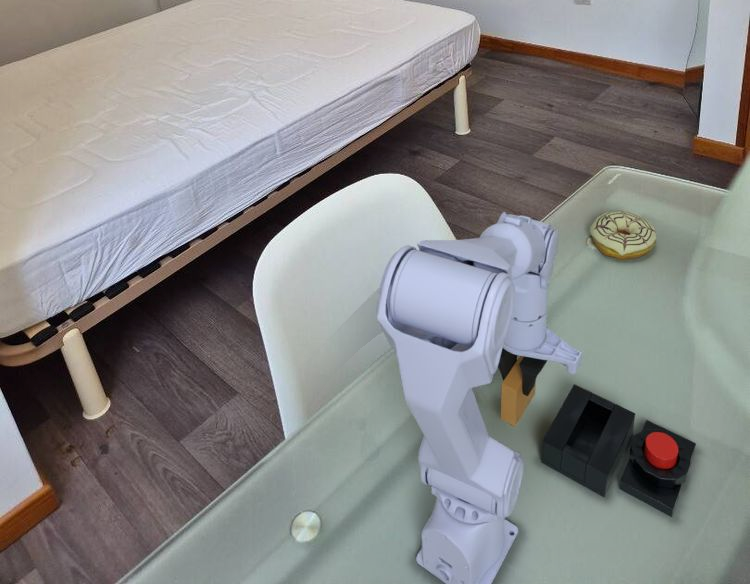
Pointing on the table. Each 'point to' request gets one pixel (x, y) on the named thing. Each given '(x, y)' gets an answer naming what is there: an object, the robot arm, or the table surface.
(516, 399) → the toast
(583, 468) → the toaster
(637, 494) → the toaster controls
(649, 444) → the button
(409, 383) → the robot arm
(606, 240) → the decorated donut
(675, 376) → the table surface
